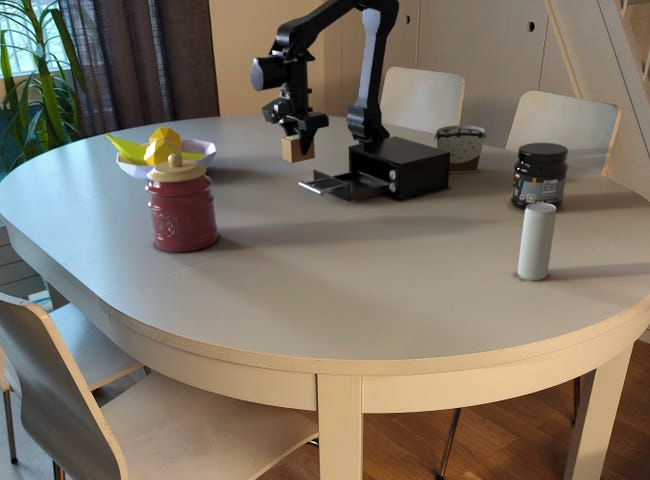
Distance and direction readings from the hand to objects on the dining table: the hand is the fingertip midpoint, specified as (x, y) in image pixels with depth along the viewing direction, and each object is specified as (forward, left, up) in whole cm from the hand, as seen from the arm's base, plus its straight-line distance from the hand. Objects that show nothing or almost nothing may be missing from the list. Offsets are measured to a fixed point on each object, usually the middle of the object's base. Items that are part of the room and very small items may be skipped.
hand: (299, 153), depth 164 cm
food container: (+16, +36, -8) cm, 40 cm away
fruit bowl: (-31, -23, -8) cm, 39 cm away
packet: (0, 0, -1) cm, 1 cm away
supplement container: (+47, +30, -8) cm, 56 cm away
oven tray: (+15, +2, -6) cm, 16 cm away
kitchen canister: (+18, -38, -8) cm, 43 cm away
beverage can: (+71, +3, -8) cm, 71 cm away
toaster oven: (+16, +17, -7) cm, 25 cm away
